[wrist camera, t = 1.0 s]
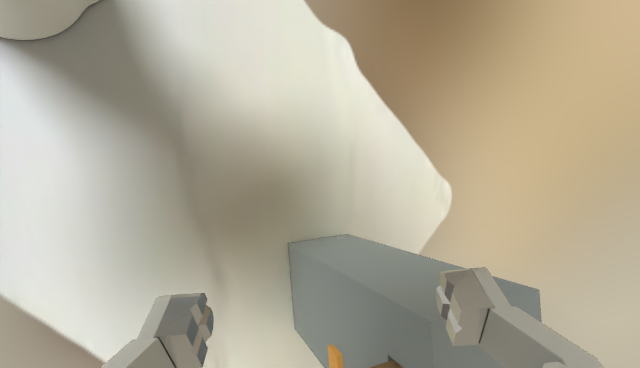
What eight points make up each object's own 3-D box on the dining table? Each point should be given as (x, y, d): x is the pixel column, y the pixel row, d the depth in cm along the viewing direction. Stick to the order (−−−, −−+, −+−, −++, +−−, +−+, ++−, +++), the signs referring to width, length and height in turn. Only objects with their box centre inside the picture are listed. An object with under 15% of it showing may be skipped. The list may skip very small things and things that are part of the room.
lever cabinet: (284, 243, 49) (422, 323, 20) (347, 234, 53) (539, 289, 24) (290, 329, 49) (437, 530, 20) (353, 313, 53) (550, 463, 24)
